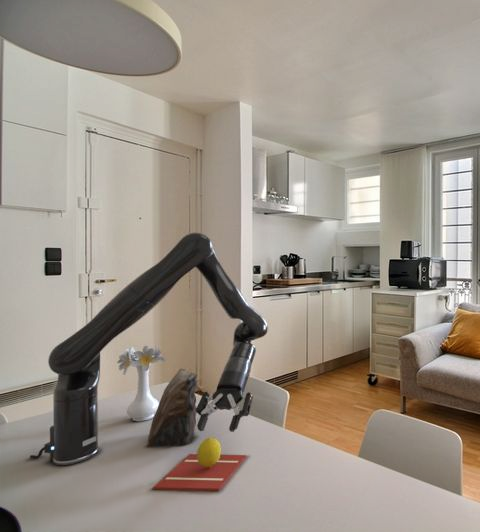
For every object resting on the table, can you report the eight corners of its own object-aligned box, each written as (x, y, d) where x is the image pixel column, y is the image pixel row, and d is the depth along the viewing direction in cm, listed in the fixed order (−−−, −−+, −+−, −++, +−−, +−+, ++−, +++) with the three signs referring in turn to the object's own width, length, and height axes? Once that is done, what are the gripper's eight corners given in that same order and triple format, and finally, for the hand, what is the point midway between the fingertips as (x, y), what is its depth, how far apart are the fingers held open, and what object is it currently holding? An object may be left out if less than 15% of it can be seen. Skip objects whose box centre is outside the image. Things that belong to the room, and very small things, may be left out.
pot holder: (153, 489, 88) (153, 486, 88) (189, 456, 103) (189, 453, 103) (219, 491, 88) (219, 488, 88) (246, 457, 103) (246, 454, 103)
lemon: (210, 475, 93) (210, 444, 93) (192, 472, 94) (192, 441, 94) (225, 463, 99) (225, 433, 99) (207, 460, 100) (207, 431, 100)
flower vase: (143, 406, 137) (142, 339, 136) (177, 415, 130) (177, 344, 129) (103, 420, 125) (103, 347, 124) (138, 430, 118) (138, 353, 117)
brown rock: (176, 427, 121) (176, 366, 120) (211, 430, 119) (212, 368, 118) (144, 446, 108) (144, 379, 108) (183, 450, 106) (183, 381, 106)
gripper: (207, 368, 108) (184, 424, 97) (255, 369, 108) (237, 425, 97) (216, 380, 114) (195, 435, 103) (262, 381, 114) (246, 435, 102)
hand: (215, 430), depth 100 cm, fingers open, 8 cm apart
